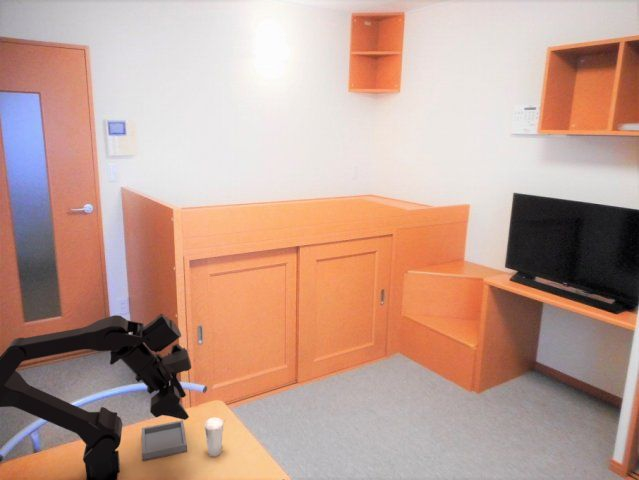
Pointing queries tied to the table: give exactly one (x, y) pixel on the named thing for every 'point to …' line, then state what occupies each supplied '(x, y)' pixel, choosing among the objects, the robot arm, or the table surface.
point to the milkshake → (214, 435)
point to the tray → (163, 440)
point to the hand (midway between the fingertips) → (185, 406)
